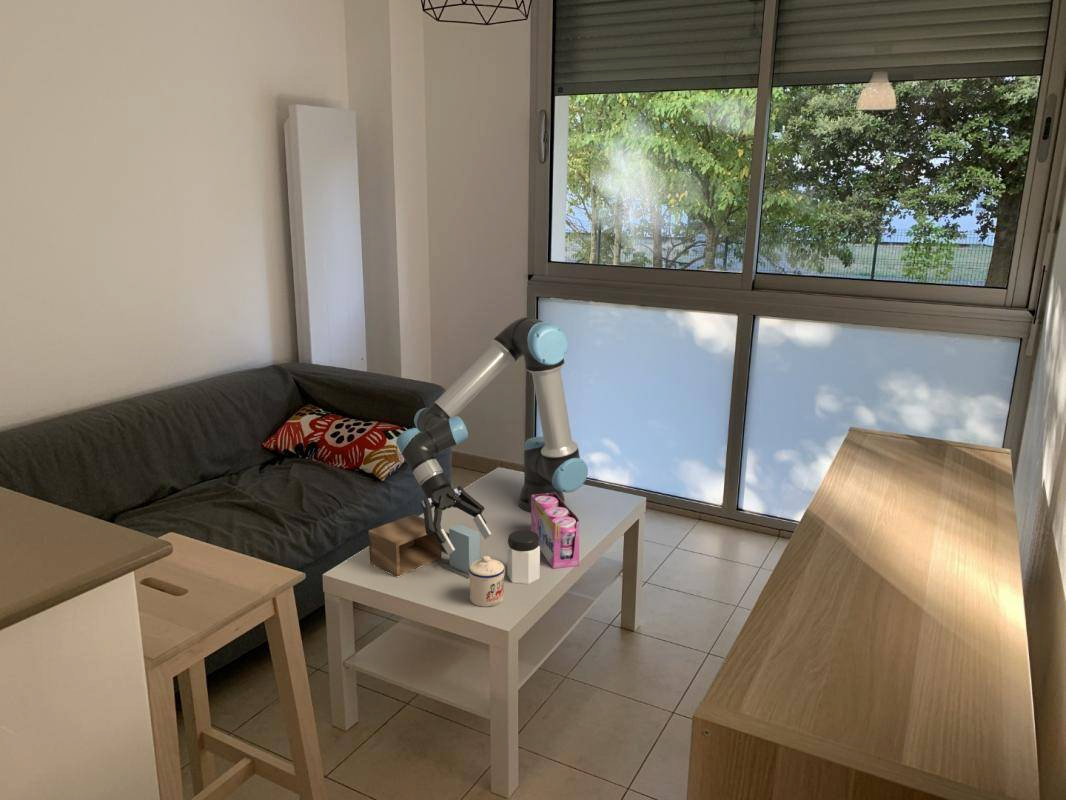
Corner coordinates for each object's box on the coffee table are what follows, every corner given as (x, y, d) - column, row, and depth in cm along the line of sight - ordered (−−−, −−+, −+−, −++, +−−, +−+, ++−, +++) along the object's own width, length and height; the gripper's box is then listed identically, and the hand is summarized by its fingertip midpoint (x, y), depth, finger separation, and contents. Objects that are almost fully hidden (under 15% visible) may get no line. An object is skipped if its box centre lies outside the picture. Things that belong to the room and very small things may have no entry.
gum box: (581, 568, 228) (582, 522, 225) (554, 571, 226) (555, 525, 223) (555, 533, 250) (555, 491, 247) (530, 536, 248) (530, 494, 245)
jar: (523, 566, 229) (523, 526, 225) (545, 576, 223) (545, 535, 220) (501, 578, 222) (500, 537, 219) (523, 587, 217) (523, 545, 214)
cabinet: (423, 542, 244) (422, 510, 241) (486, 570, 226) (486, 536, 224) (369, 563, 230) (368, 530, 227) (432, 595, 212) (431, 559, 210)
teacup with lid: (490, 611, 205) (490, 568, 202) (461, 601, 210) (461, 559, 207) (518, 592, 214) (518, 551, 211) (489, 583, 219) (489, 542, 216)
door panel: (449, 565, 228) (449, 528, 226) (460, 560, 231) (459, 524, 228) (469, 574, 223) (468, 536, 220) (480, 569, 226) (479, 532, 223)
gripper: (458, 474, 241) (495, 536, 235) (391, 498, 223) (429, 565, 217) (471, 461, 236) (509, 524, 230) (402, 484, 218) (442, 553, 212)
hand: (470, 544), depth 224 cm, fingers open, 13 cm apart
